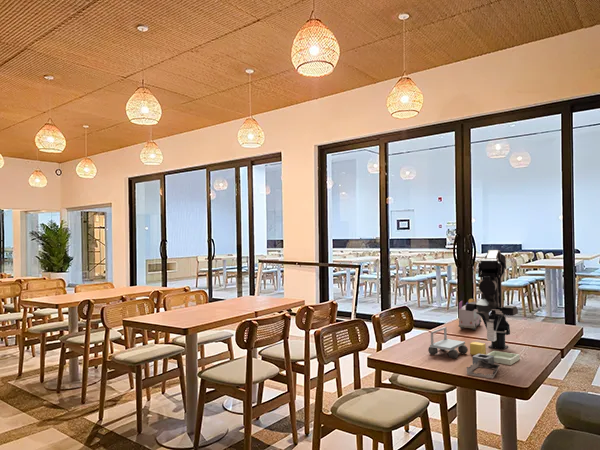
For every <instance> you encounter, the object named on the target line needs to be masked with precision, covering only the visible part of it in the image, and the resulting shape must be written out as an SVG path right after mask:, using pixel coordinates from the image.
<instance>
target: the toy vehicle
mask: <svg viewBox="0 0 600 450" xmlns="http://www.w3.org/2000/svg"><path fill="white" fill-rule="evenodd" d="M470 302H476V301H475V299H473V298H469V299H468V301H467V302H466V303H465V304H464V305H463V300H461V301H460V302H459V304H458V327H459V328H460V329H461V330H464V329H465V328H466V329H471V330H472V331H476V330H477V327H481V323H482V322H483V320H482V317H481V316H480V315H479V314H477V313H476V312H477V309H475V310H474V311H466V310H465V306H466V304H467V303H470Z"/></svg>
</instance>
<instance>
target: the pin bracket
mask: <svg viewBox="0 0 600 450" xmlns="http://www.w3.org/2000/svg"><path fill="white" fill-rule="evenodd" d="M471 359H472V365H473V364H474V363H476V364H477V362H478V360H482V361H484V362H486V363H491V364H495V362H494V356H491V355H486V354H476V355H473V356H472V358H471Z"/></svg>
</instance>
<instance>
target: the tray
mask: <svg viewBox="0 0 600 450" xmlns="http://www.w3.org/2000/svg"><path fill="white" fill-rule="evenodd" d="M485 355H491V356H494V363H496V364H502V365H509V366H511V365H513V364H514V363H516V362H518V361H519V360H520V356H521V355H520V354H519V353H511V352H505V351H499V350H492V351H490V352H488V353H486V354H485Z"/></svg>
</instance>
